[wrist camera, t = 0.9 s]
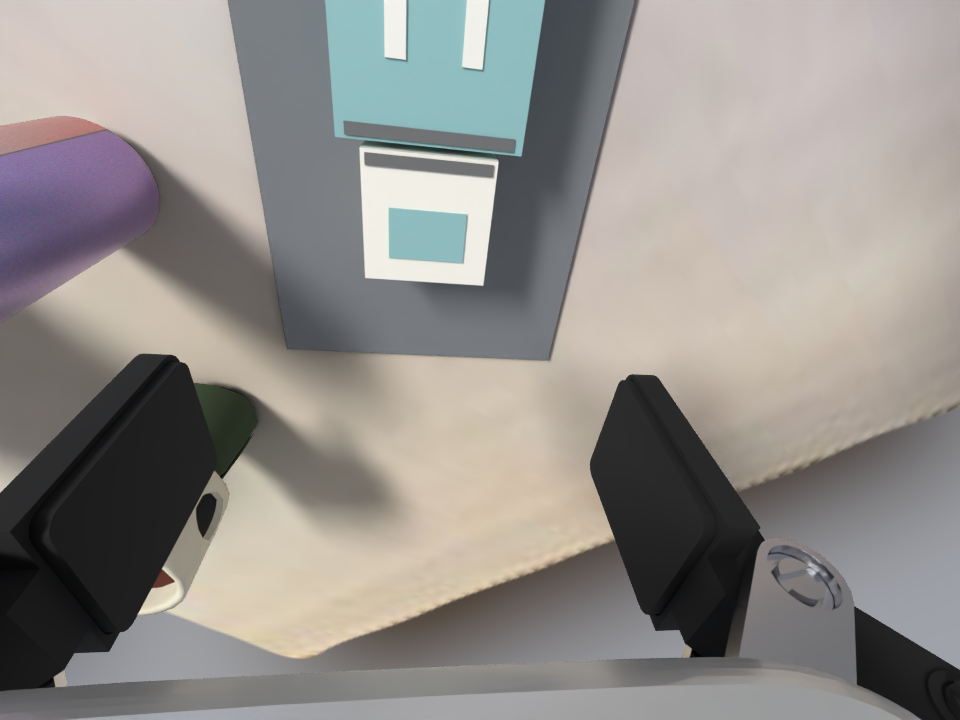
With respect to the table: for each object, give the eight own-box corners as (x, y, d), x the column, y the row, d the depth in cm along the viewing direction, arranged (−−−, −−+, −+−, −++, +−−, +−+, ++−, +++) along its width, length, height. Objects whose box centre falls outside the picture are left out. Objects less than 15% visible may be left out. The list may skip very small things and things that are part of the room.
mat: (154, -459, 13) (147, -472, 13) (706, -315, 15) (712, -322, 15) (288, 345, 30) (287, 348, 29) (546, 357, 32) (547, 360, 32)
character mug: (247, 468, 36) (168, 641, 25) (150, 442, 34) (18, 622, 23) (285, 373, 31) (207, 541, 20) (174, 335, 28) (19, 502, 18)
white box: (372, 131, 22) (358, 148, 18) (488, 144, 23) (498, 162, 19) (375, 245, 26) (364, 278, 22) (476, 253, 26) (483, 286, 23)
